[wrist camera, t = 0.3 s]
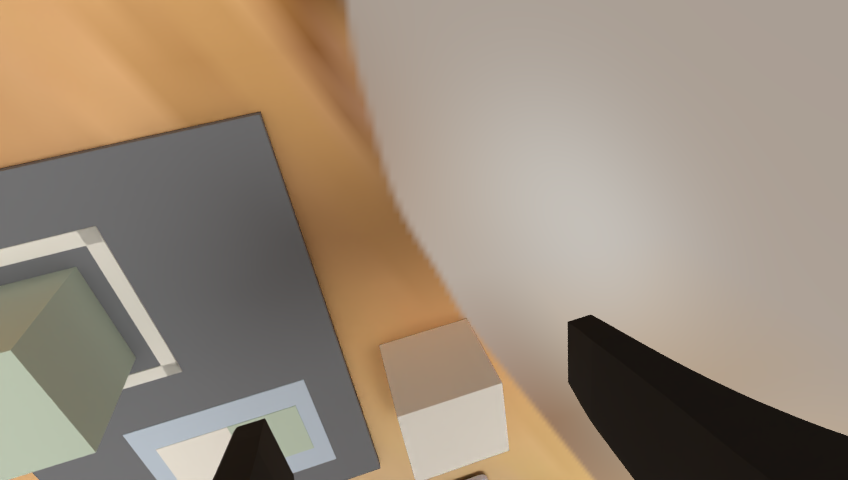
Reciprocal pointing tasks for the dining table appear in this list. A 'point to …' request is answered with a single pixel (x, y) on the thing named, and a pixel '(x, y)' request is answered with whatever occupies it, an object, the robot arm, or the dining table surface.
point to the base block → (56, 371)
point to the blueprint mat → (192, 300)
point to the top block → (445, 399)
